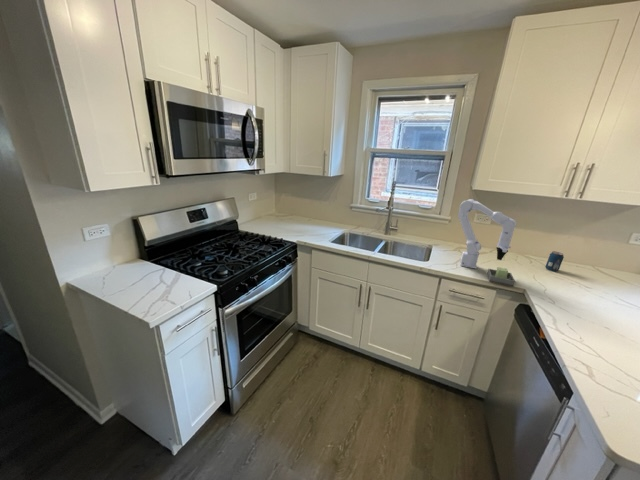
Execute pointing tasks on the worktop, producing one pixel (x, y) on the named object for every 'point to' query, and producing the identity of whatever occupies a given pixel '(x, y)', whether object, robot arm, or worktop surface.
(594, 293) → the worktop surface
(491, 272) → the bin
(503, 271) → the light green block
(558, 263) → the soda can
